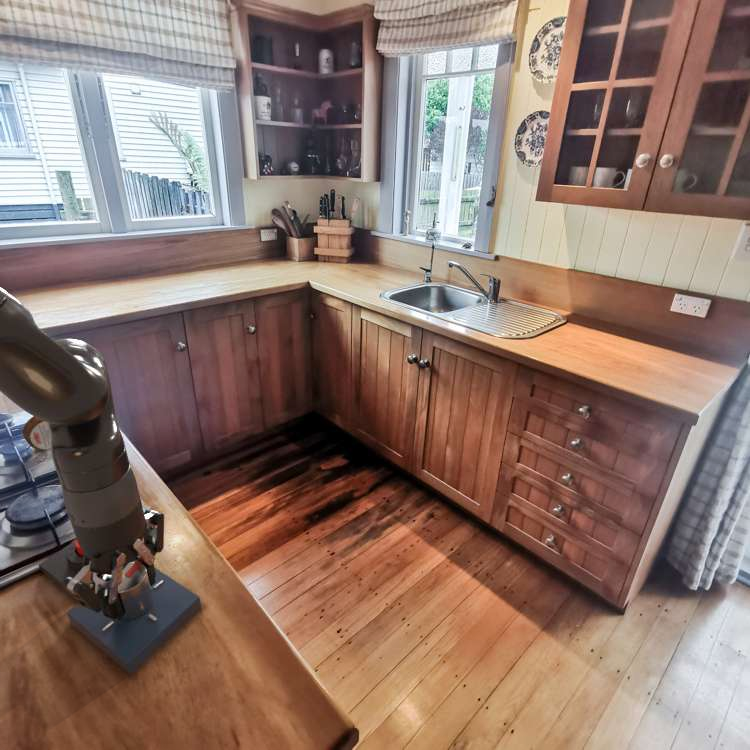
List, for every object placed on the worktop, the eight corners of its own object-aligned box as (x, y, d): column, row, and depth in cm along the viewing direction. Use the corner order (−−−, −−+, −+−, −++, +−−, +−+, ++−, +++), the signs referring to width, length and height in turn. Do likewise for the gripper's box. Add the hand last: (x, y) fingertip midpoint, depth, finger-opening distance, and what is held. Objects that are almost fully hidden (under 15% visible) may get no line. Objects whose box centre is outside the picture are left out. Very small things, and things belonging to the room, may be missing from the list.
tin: (106, 426, 108) (97, 394, 104) (110, 431, 106) (102, 399, 102) (29, 452, 98) (16, 418, 94) (32, 459, 96) (20, 424, 92)
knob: (135, 625, 61) (126, 595, 58) (106, 613, 62) (96, 584, 60) (161, 595, 65) (154, 566, 63) (133, 585, 66) (125, 556, 64)
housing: (42, 574, 71) (34, 555, 69) (110, 529, 80) (105, 511, 78) (80, 605, 67) (73, 586, 65) (147, 553, 75) (143, 535, 74)
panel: (72, 627, 64) (66, 612, 62) (144, 571, 72) (140, 556, 71) (132, 678, 58) (127, 662, 57) (202, 611, 67) (199, 596, 65)
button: (72, 550, 71) (69, 541, 70) (95, 535, 74) (92, 526, 73) (86, 560, 69) (83, 551, 69) (109, 544, 72) (106, 536, 71)
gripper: (74, 556, 49) (110, 657, 56) (172, 475, 61) (191, 567, 68) (23, 535, 51) (64, 635, 58) (127, 461, 63) (150, 552, 70)
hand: (132, 598), depth 63 cm, fingers closed on knob, 5 cm apart
